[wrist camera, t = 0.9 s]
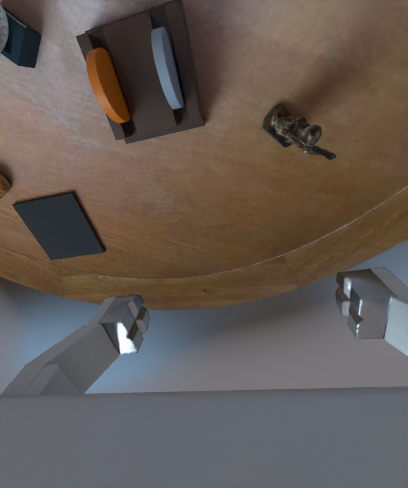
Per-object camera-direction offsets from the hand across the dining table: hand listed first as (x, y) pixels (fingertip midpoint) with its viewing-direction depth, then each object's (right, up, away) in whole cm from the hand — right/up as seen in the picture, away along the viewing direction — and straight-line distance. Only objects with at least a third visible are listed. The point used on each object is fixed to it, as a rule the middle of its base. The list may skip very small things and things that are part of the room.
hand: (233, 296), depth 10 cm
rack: (-9, +26, +23) cm, 36 cm away
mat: (-32, +5, +39) cm, 51 cm away
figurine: (+11, +20, +25) cm, 34 cm away
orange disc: (-13, +22, +20) cm, 33 cm away
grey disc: (-5, +24, +19) cm, 30 cm away
